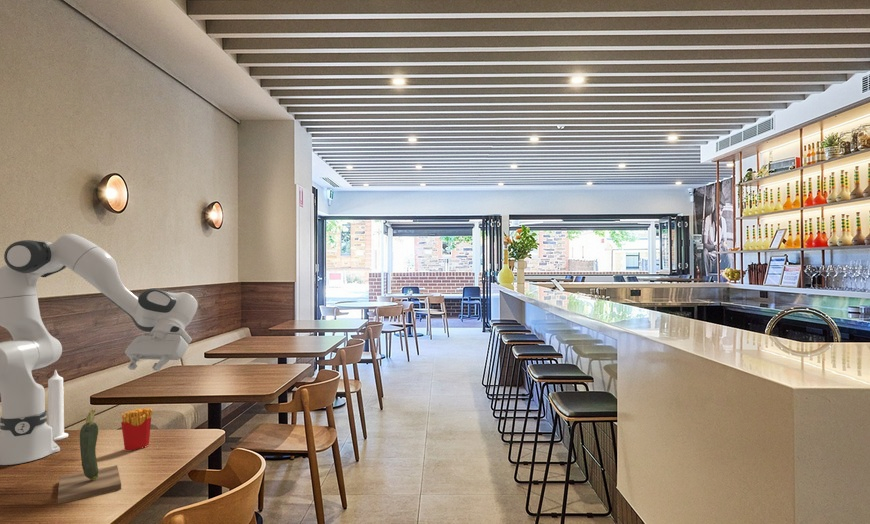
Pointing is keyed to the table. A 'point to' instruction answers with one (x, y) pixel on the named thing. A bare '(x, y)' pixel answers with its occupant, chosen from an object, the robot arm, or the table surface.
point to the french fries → (136, 428)
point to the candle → (56, 406)
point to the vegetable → (89, 446)
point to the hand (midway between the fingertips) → (143, 369)
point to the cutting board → (88, 484)
